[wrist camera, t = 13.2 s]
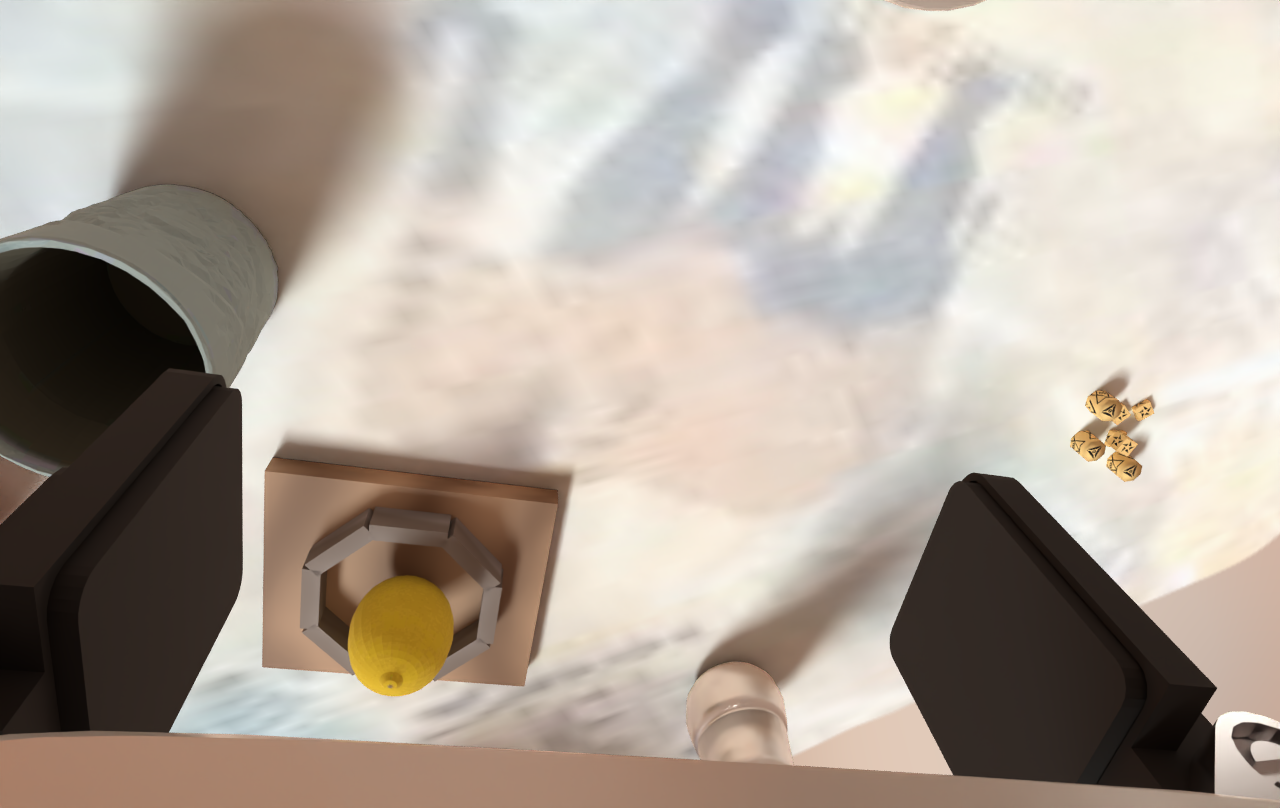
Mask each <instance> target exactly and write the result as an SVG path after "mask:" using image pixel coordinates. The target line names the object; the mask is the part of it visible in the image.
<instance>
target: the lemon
mask: <svg viewBox="0 0 1280 808" xmlns="http://www.w3.org/2000/svg"><path fill="white" fill-rule="evenodd" d="M453 628H454V620H453V614H452V611H451V607H450V604H449V602H448V600H447V598H446V597H445V595H444V593H443V592H442V591H441V590H440V589H439V588H438V587H437V586H436V585H435V584H433V583H431V582H430V581H428V580H426V579H424V578H421V577H417V576H410V575H404V576H396V577H393V578H389V579H386V580H384V581H383V582H381V583H379V584H378V585H376V586H374V587H373V588H372V589H371V590H370V591H369V592H368V593H367V594H366V595H365V596H364V598H363V599H362V600H361V602H360V603H359V605H358V607H357V609H356V611H355V613H354V615H353V617H352V620H351V624H350V629H349V637H348V653H349V658H350V663H351V667H352V669H353V671H354V673H355V675H356V676H357V678H358V680H359V681H360V682H361V683H362V684H363V685H364V686H366V687H367V688H369V689H370V690H372V691H374V692H376V693H379V694H381V695H387V696H403V695H407V694H411V693H413V692H416V691H418V690H420V689H422V688H423V687H424V686H426V685H427V684H428V683H430V682H431V681H432V680H433V679H434V677H435V676H436V675H437V674H438V672H439V671H440V670H441V668H442V666H443V665H444V663H445V660H446V658H447V656H448V653H449V650H450V648H451V645H452V641H453Z"/></svg>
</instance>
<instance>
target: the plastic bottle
mask: <svg viewBox="0 0 1280 808" xmlns="http://www.w3.org/2000/svg"><path fill="white" fill-rule="evenodd" d="M686 725H687V729H688V732H689V735H690V738H691V740H692V743H693V746H694V748H695V750H696V752H697V754H698V756H699V757H700V760H708V761H725V762H743V763H760V764H777V765H793V766H794V763H793V758H792V754H791V749H790V744H789V740H788V735H787V718H786V712H785V705H784V700H783V697H782V695H781V692H780V691H779V689H778V687H777V685H776V684H775V682H774V680H773V678H772V677H771V676H770V675H769V674H768V673H767V672H765V671H764V670H763V669H761V668H759V667H757V666H755V665H752V664H750V663H746V662H736V661H735V662H726V663H723V664H719V665H717V666H714V667H712V668H711V669H709V670H707V671H706V672H705V673H703V674H702V675H701V676H700V677H699V678H698V679H697V681H696V682H695V684H694V685H693V687H692V688H691V690H690V692H689V694H688V697H687V703H686Z"/></svg>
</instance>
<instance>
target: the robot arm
mask: <svg viewBox="0 0 1280 808" xmlns="http://www.w3.org/2000/svg"><path fill="white" fill-rule="evenodd" d="M885 1H888V2H890V3H893V4H896V5H899V6H901V7H904V8H910V9H918V10H926V11H942V10H944V11H949V10H954V9H959V8H964V7H968V6H973V5H976V4H978V3H981V2H983V1H985V0H885ZM242 571H243V542H242V397H241V393H240V391H239V389H234V388H227V387H226V382H225V379H224V377H223V376H222V375H218V374H210V373H202V372H195V371H187V370H179V369H172V368H169V369H168V370H166V371H165V372H164V373H163V374H162V375H161V376H160V377H159V378H158V379H157V380H156V381H155V382H154V383H153V384H152V385H151V386H150V387H149V388H148V389H147V390H146V391H145V392H144V393H143V394H142V395H141V396H140V397H139V398H138V399H137V400H135V401H134V402H133V403H132V404H131V405H130V406H129V407H128V408H127V409H126V410H125V411H124V412H123V413H122V414H121V415H120V416H119V417H118V418H117V419H116V420H115V421H114V422H113V423H112V424H111V425H110V426H109V427H108V428H107V429H106V430H105V431H104V432H103V433H102V434H101V435H100V436H99V437H98V438H97V439H96V440H95V441H94V442H93V443H92V444H91V445H90V446H89V447H88V448H87V449H86V450H85V451H84V452H83V453H82V454H81V455H80V456H79V457H78V458H77V459H76V460H75V461H74V462H73V463H72V464H71V465H70V466H69V467H62V468H61V469H59V470H58V471H56V472H55V473H54V474H52V475H51V476H50V477H49V478H48V479H47V480H46V481H45V482H44V483H43V484H42V485H41V486H40V487H39V488H38V489H37V490H36V491H35V492H34V493H33V494H32V495H31V496H30V497H29V498H28V499H27V500H26V501H25V502H24V503H22V504H21V505H20V506H19V507H18V508H17V509H16V510H15V511H14V512H13V513H12V514H11V515H10V516H9V517H8V518H7V519H6V520H5V521H4V522H3V523H2V524H1V525H0V808H1280V722H1277V721H1275V720H1272V719H1270V718H1267V717H1265V716H1261V715H1257V714H1252V713H1248V712H1228V713H1225V714H1223V715H1221V716H1219V717H1218V719H1217V721H1216V722H1215V724H1214V725H1213V726H1212V724H1211V723H1210V722H1209V721H1208V720H1207V719H1206V718H1205V717H1204V716H1203V715H1202V711H1203V709H1204V708H1205V706H1206V705H1207V703H1208V702H1209V700H1210V698H1211V697H1212V695H1213V694H1214V692H1215V691H1216V689H1217V687H1215V685H1214V684H1213V683H1212V682H1211V681H1210V680H1209V679H1208V678H1207V677H1206V676H1205V675H1204V674H1203V673H1202V672H1201V671H1200V670H1199V669H1198V668H1197V666H1195V664H1194V663H1193V662H1192V661H1191V660H1190V659H1189V658H1188V657H1187V656H1186V655H1185V654H1184V653H1183V652H1182V651H1181V650H1180V649H1179V648H1178V647H1177V646H1176V645H1175V644H1174V643H1173V642H1172V641H1171V640H1170V638H1169V637H1167V635H1166V634H1165V633H1164V632H1163V631H1162V630H1161V629H1160V628H1159V627H1158V626H1157V625H1156V624H1155V623H1154V622H1153V621H1152V620H1151V619H1150V618H1149V617H1148V616H1147V615H1146V614H1145V613H1144V611H1143V610H1142V609H1141V608H1140V607H1139V606H1138V605H1137V604H1136V603H1135V602H1134V601H1133V600H1132V599H1131V598H1130V597H1129V596H1128V595H1127V594H1126V593H1125V592H1124V591H1123V590H1122V589H1121V588H1120V587H1119V585H1118V584H1117V583H1116V582H1115V581H1114V580H1113V579H1112V578H1111V577H1110V576H1109V575H1108V574H1107V573H1106V572H1105V571H1104V570H1103V569H1102V568H1101V567H1100V566H1099V565H1098V564H1097V563H1096V562H1095V561H1094V559H1093V558H1092V557H1091V556H1090V555H1089V554H1088V553H1087V552H1086V551H1085V550H1084V549H1083V548H1082V547H1081V546H1080V545H1079V544H1078V543H1077V542H1076V541H1075V540H1074V539H1073V538H1072V537H1071V536H1070V535H1069V534H1068V532H1067V531H1066V530H1065V529H1064V528H1063V527H1062V526H1061V525H1060V524H1059V523H1058V522H1057V521H1056V520H1055V519H1054V518H1053V517H1052V516H1051V515H1050V514H1049V513H1048V512H1047V511H1046V510H1045V509H1044V508H1043V507H1042V505H1041V504H1040V503H1039V502H1038V501H1037V500H1036V499H1035V498H1034V497H1033V496H1032V495H1031V494H1030V493H1029V492H1028V491H1027V490H1026V489H1025V488H1024V487H1023V486H1022V485H1021V484H1020V483H1019V482H1018V481H1017V480H1015V479H1014V478H1010V477H1003V476H995V475H987V474H979V473H971V474H969V475H967V476H966V477H965V478H964V479H963V480H962V481H958V482H956V483H954V485H953V486H952V487H951V488H950V490H949V492H948V495H947V497H946V499H945V502H944V504H943V507H942V509H941V512H940V514H939V516H938V519H937V521H936V524H935V526H934V529H933V531H932V533H931V536H930V538H929V541H928V543H927V546H926V548H925V550H924V553H923V555H922V558H921V560H920V562H919V565H918V567H917V570H916V572H915V575H914V577H913V579H912V582H911V584H910V587H909V589H908V592H907V594H906V596H905V599H904V601H903V604H902V606H901V609H900V611H899V613H898V616H897V618H896V621H895V623H894V625H893V628H892V631H891V634H890V650H891V655H892V657H893V660H894V662H895V664H896V666H897V667H898V669H899V671H900V673H901V675H902V677H903V679H904V681H905V683H906V685H907V687H908V689H909V691H910V692H911V694H912V696H913V698H914V700H915V702H916V704H917V706H918V708H919V710H920V711H921V714H922V716H923V718H924V719H925V721H926V723H927V725H928V727H929V729H930V731H931V733H932V735H933V737H934V739H935V740H936V742H937V744H938V746H939V748H940V750H941V752H942V754H943V756H944V758H945V760H946V762H947V764H948V766H949V768H950V770H951V771H952V773H953V775H938V774H922V773H906V772H891V771H875V770H858V769H842V768H826V767H810V766H793V765H777V764H760V763H743V762H725V761H708V760H691V759H673V758H656V757H639V756H621V755H604V754H587V753H571V752H554V751H537V750H518V749H499V748H481V747H463V746H444V745H426V744H408V743H389V742H371V741H353V740H335V739H316V738H298V737H280V736H262V735H241V734H201V733H169V731H170V729H171V727H172V725H173V723H174V721H175V719H176V717H177V715H178V713H179V711H180V709H181V708H182V706H183V704H184V702H185V700H186V698H187V696H188V694H189V692H190V690H191V688H192V686H193V684H194V682H195V680H196V678H197V676H198V674H199V672H200V670H201V668H202V666H203V664H204V662H205V660H206V659H207V657H208V655H209V653H210V651H211V649H212V647H213V645H214V643H215V641H216V639H217V637H218V635H219V633H220V631H221V629H222V627H223V625H224V623H225V621H226V619H227V617H228V615H229V613H230V611H231V610H232V608H233V606H234V604H235V601H236V599H237V597H238V593H239V590H240V586H241V581H242Z"/></svg>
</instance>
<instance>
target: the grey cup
mask: <svg viewBox="0 0 1280 808" xmlns="http://www.w3.org/2000/svg"><path fill="white" fill-rule="evenodd" d="M277 270H278V267H277V264H276V262H275V260H274V259H273V256H272V251H271V249H270V248H269V247H268V244H267V241H266V240H265V239H264V238H263V236H262V234H261V233H260V232H259V231H258V229H257V228H256V227H255V225H254V224H253V223H252V222H251V221H250V220H249V219H248V218H247V217H245V216H244V215H243V213H242V212H241V211H240V210H237V209H236V208H234V206H233V205H232V204H230V203H228V202H227V201H226V200H224V199H222V198H220V197H218V196H216V195H214V194H212V193H210V192H206V191H203V190H200V189H197V188H192V187H188V186H180V185H165V184H162V185H155V186H148V187H143V188H140V189H137V190H134V191H131V192H127V193H125V194H122V195H119V196H117V197H114V198H111V199H109V200H106V201H104V202H100V203H97V204H93V205H91V206H88V207H86V208H83V209H78V210H76V211H74V212H71V213H70V214H69V215H68V216H67V217H65V218H64V219H63V220H60V221H54V222H49V223H46V224H44V225H42V226H38V227H35V228H32V229H29V230H26V231H23V232H20V233H17V234H14V235H11V236H8V237H5V238H2V239H0V456H1V457H3V458H5V459H7V460H9V461H11V462H13V463H15V464H17V465H19V466H21V467H23V468H25V469H28V470H30V471H33V472H36V473H38V474H41V475H44V476H48V477H50V476H51V475H52V474H54V473H55V472H56V471H58V470H59V469H61V468H62V467H69V466H70V465H71V464H72V463H73V462H74V461H75V460H76V459H77V458H78V457H79V456H80V455H81V454H82V453H83V452H84V451H85V450H86V449H87V448H88V447H89V446H90V445H91V444H92V443H93V442H94V441H95V440H96V439H97V438H98V437H99V436H100V435H101V434H102V433H103V432H104V431H105V430H106V429H107V428H108V427H109V426H110V425H111V424H112V423H113V422H114V421H115V420H116V419H117V418H118V417H119V416H120V415H121V414H122V413H123V412H124V411H125V410H126V409H127V408H128V407H129V406H130V405H131V404H132V403H133V402H134V401H135V400H137V399H138V398H139V397H140V396H141V395H142V394H143V393H144V392H145V391H146V390H147V389H148V388H149V387H150V386H151V385H152V384H153V383H154V382H155V381H156V380H157V379H158V378H159V377H160V376H161V375H162V374H163V373H164V372H165V371H166V370H168V369H169V368H172V369H179V370H187V371H195V372H202V373H210V374H218V375H222V376H223V377H224V379H225V382H226V387H227V388H229V387H230V386H231V384H232V383H233V381H234V379H235V378H236V376H237V374H238V373H239V371H240V369H241V368H242V366H243V364H244V362H245V359H246V357H247V354H248V353H249V352H250V351H251V349H252V347H253V346H254V344H255V342H256V340H257V338H258V336H259V334H260V332H261V330H262V329H263V327H264V325H265V324H266V322H267V320H268V319H269V317H270V315H271V313H272V311H273V309H274V306H275V303H276V300H277V292H278V276H277Z"/></svg>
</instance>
